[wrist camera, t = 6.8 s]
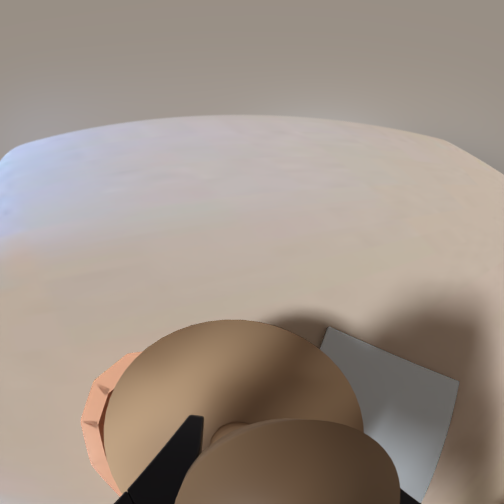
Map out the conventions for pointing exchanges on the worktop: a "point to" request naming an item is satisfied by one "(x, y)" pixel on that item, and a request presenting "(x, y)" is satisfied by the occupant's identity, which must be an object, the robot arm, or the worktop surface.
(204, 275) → the worktop surface
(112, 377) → the bowl
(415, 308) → the worktop surface
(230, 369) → the lid
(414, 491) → the mat
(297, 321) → the worktop surface
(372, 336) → the worktop surface
